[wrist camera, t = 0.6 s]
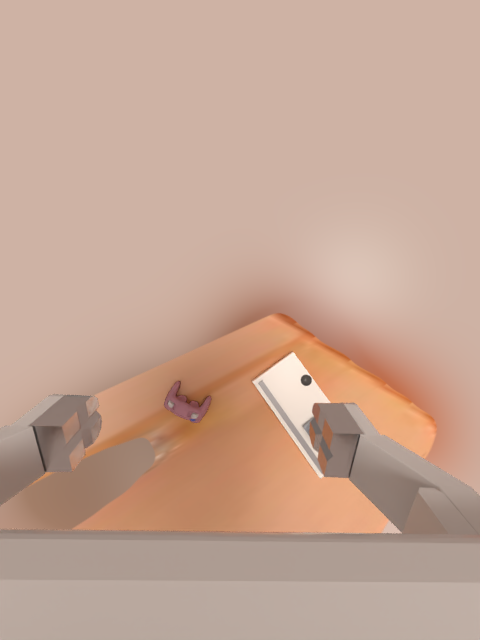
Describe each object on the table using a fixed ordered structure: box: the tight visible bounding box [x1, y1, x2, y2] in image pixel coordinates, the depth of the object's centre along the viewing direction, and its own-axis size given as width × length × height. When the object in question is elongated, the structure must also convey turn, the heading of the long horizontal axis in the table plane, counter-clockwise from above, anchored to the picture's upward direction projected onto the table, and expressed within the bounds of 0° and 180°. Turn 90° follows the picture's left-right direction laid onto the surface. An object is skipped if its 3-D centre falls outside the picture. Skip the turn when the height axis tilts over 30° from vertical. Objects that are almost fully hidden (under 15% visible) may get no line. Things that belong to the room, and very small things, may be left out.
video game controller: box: [164, 381, 211, 423], centre depth 53 cm, size 10×5×7 cm, turn 65°
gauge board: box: [252, 352, 330, 479], centre depth 51 cm, size 26×12×8 cm, turn 35°
